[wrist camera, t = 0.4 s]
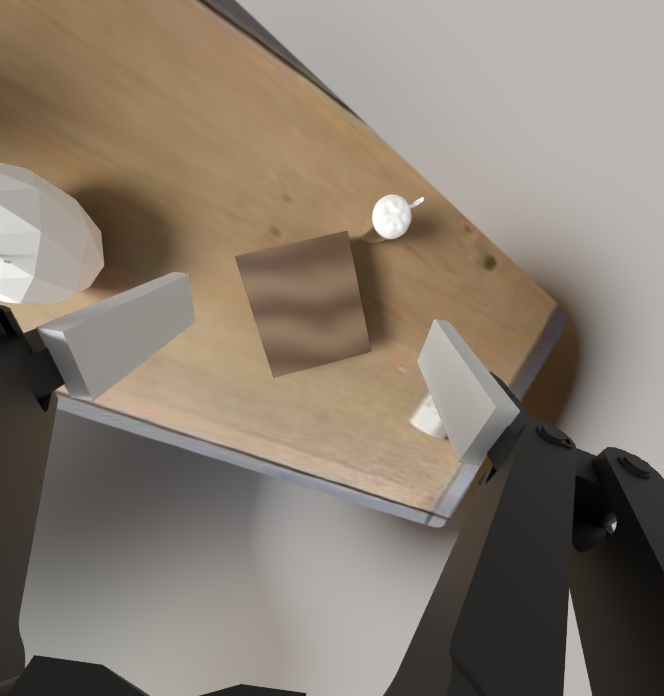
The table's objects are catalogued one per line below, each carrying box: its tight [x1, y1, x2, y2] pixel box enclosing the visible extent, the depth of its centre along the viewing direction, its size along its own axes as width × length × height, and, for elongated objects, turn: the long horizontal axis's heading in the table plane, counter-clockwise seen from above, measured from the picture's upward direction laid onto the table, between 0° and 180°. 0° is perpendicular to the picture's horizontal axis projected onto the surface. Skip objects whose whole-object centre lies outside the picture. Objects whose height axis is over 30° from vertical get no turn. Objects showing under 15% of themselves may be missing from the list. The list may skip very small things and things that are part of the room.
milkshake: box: [361, 195, 425, 244], centre depth 31 cm, size 5×5×10 cm
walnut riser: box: [235, 231, 371, 378], centre depth 35 cm, size 16×14×5 cm
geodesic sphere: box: [0, 163, 104, 304], centre depth 25 cm, size 14×14×14 cm
